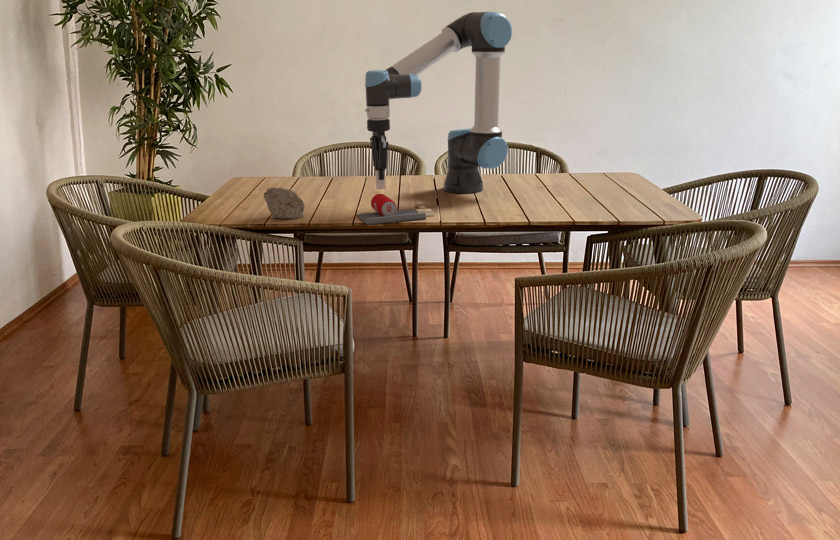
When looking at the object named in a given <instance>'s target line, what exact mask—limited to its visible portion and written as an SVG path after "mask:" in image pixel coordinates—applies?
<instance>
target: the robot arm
mask: <svg viewBox="0 0 840 540" xmlns="http://www.w3.org/2000/svg"><path fill="white" fill-rule="evenodd" d="M512 34H513V27H512V24H511V21H510V19H508V17H507V16H506V14H503V13H501V12H497V11H481V12H480V11H479V12H477V11H474V12H473V11H472V12H468V13H466V14H464V15H462V16H460V17H458V18H457V19H455V20H453V21H452V22H451V23H448V24H447V25H446V26H445V27H443V28H442V29H441V32H440V33H439V34H438V35H436V36H434V37H433V38H432V39H431V40H429V41H427V42H425V43H424V44H422V45H421V46H420V47H418V48H416V49H415V50H414V51H412V52H410V53H409V54H408V55H405V57H403V58H402V59H400V60H399V61H397V62H396V63H394V64H393V65H391V66H390V67H388V68H386V69H377V70H376V69H374V70H373V69H372V70H368V71H366V73H365V78H364V79H365V83H364V85H365V100H366V101H365V103H366V109H364V110H365V111H364V112H365V113H366V117H367V119H366V128H367V131H369V132H371V133H372V135H371V137H369V141H370V145H371V146H370V147H371V156H372V166H373V167H374V170H375V186H376V187H375V188H376V190H385V189H386V174H385V173H386V172H385V170H387V168H388V151H389V150H388V148H389V141H387V136H386V132H388V131H389V130H390V129H391V120H390V116H391V115H390V114H391V111H390V109H391V108H390V100H394V99H396V100H397V99H411V98H417V97H418V96H419V95H420V94H421V92H422V81H421V79H420V76H418V75H420V74H421V73H422V72H424V71H425V70H427V69H428V68H430V67H432V66H433V65H435V64H436V63H438V62H439V61H440V60H442V59H443V58H445V57H446V56H448V55H450V54H451V53H452V52H453V53H458V52H459V51H460V50H462V49H465V48H468V47H469V48H470V47H471V53H472V55H473V56H475V76H474V77H475V81H474V123H473V126H472V128H462V129H461V128H459V129H453V130H449V132H448V134H447V165H448V166H447V172H446V176H445V178H444V181H443V190H444V191H445V192H448V193H454V194H472V193H478V192H481V191H483V190H484V182H483V178H482V175H481V172H480V168H482V169H490V170H492V169H496V168H499V167H500V166H501V165H502V164H503V163H505V160H506V159H507V156H508V153H509V146H508V143H507V142H506V140H505V139H504V138H503V130H502V128H501V127H500V126H499V108H500V107H499V106H500V104H499V103H500V77H501V75H500V74H501V73H500V72H501V57H502V56H503V55H504V54H505V50H506V46H507V45H508V44H509V42H511V40H512V37H513V35H512ZM479 167H480V168H479Z"/></svg>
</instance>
